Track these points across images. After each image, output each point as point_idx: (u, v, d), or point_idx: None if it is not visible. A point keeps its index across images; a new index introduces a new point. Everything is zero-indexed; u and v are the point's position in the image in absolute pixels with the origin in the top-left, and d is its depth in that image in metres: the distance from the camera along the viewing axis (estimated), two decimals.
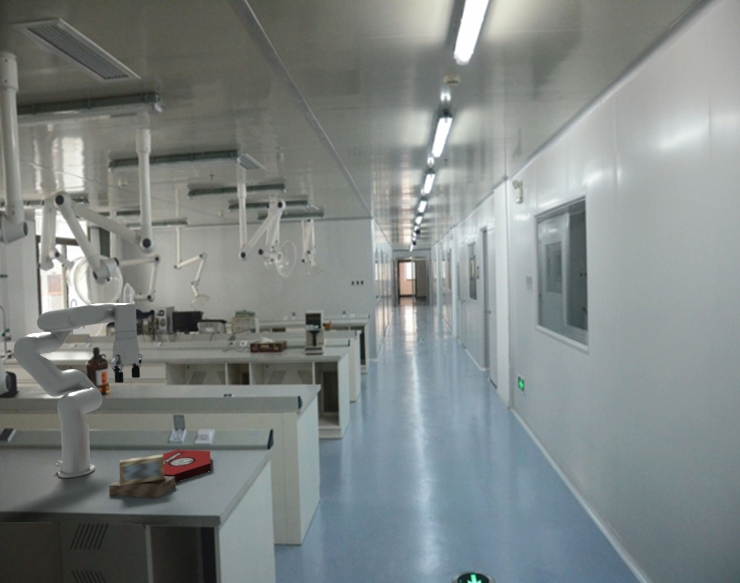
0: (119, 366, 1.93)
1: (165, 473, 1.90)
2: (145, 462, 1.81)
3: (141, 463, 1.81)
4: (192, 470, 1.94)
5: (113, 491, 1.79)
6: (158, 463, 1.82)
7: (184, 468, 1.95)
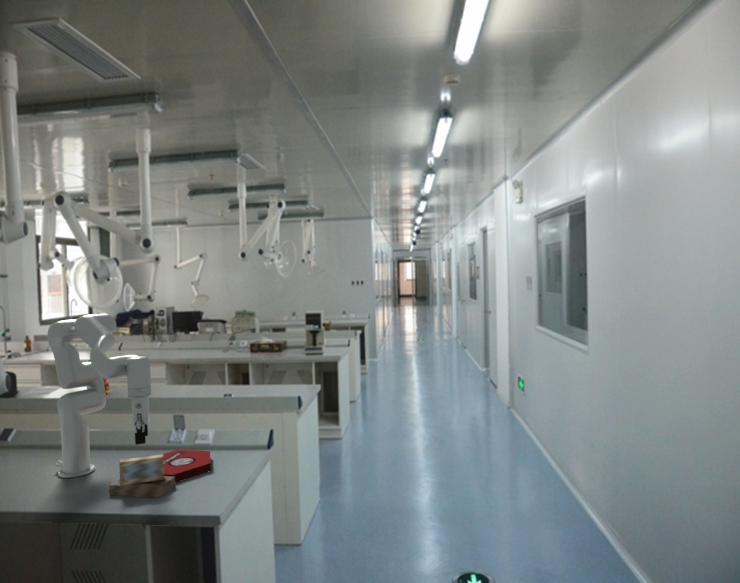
0: None
1: (165, 473, 1.90)
2: (145, 462, 1.81)
3: (141, 463, 1.81)
4: (192, 470, 1.94)
5: (113, 491, 1.79)
6: (158, 463, 1.82)
7: (184, 468, 1.95)
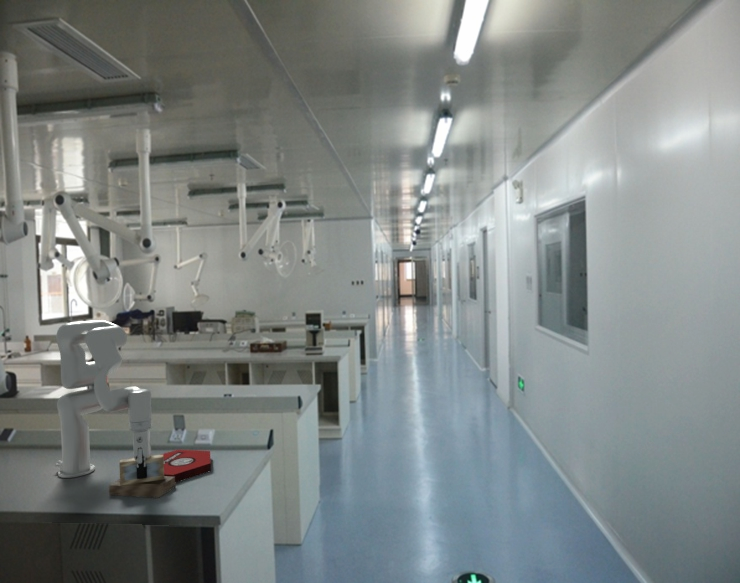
0: None
1: (165, 473, 1.90)
2: None
3: None
4: (192, 470, 1.94)
5: (113, 491, 1.79)
6: (158, 463, 1.82)
7: (184, 468, 1.95)
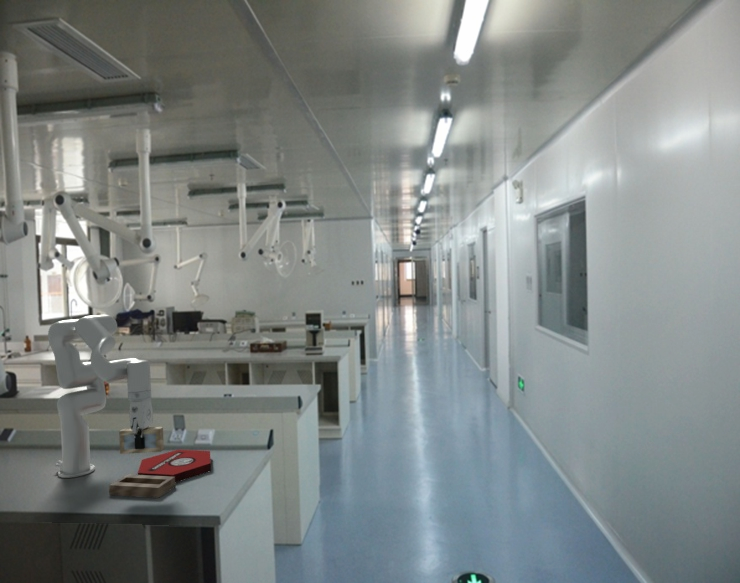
0: None
1: (165, 473, 1.90)
2: (143, 433, 1.80)
3: None
4: (192, 470, 1.94)
5: (113, 491, 1.79)
6: (155, 435, 1.81)
7: (184, 468, 1.95)
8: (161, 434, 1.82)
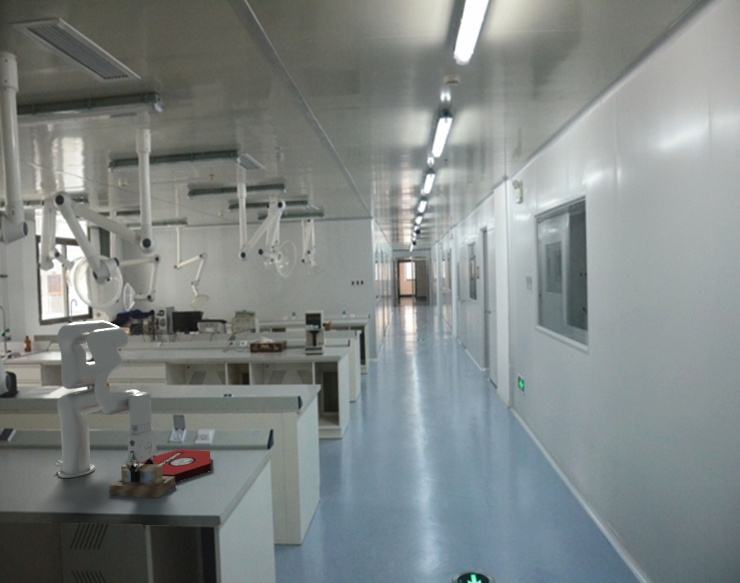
0: None
1: (165, 473, 1.90)
2: (142, 470, 1.80)
3: None
4: (192, 470, 1.94)
5: (113, 491, 1.79)
6: (153, 473, 1.80)
7: (184, 468, 1.95)
8: (159, 473, 1.80)
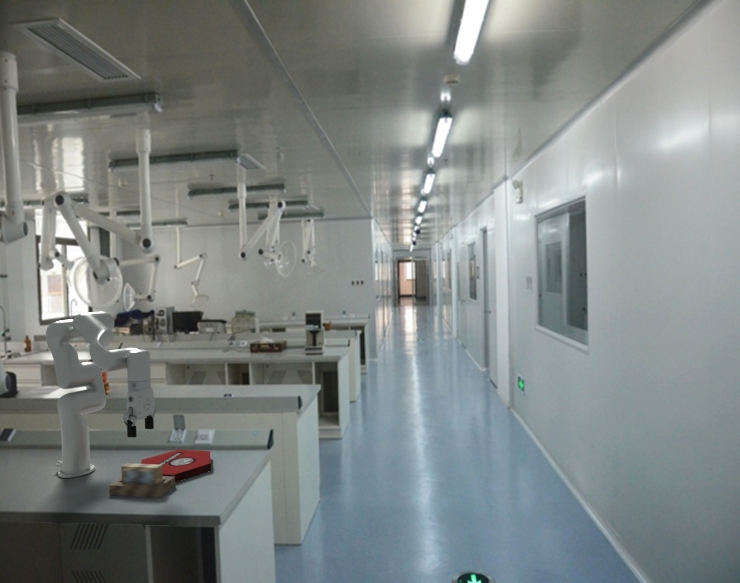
0: None
1: (165, 473, 1.90)
2: (142, 470, 1.80)
3: (139, 470, 1.81)
4: (192, 470, 1.94)
5: (113, 491, 1.79)
6: (153, 473, 1.80)
7: (184, 468, 1.95)
8: (159, 473, 1.80)
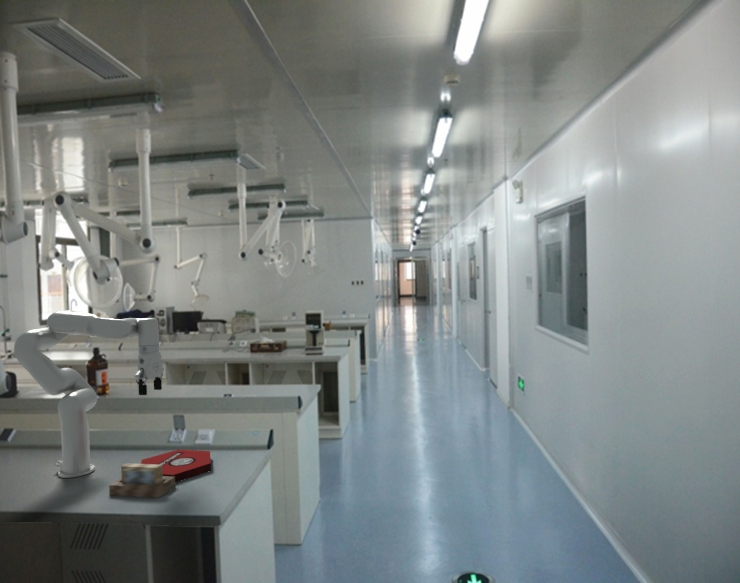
0: None
1: (165, 473, 1.90)
2: (142, 470, 1.80)
3: (139, 470, 1.81)
4: (192, 470, 1.94)
5: (113, 491, 1.79)
6: (153, 473, 1.80)
7: (184, 468, 1.95)
8: (159, 473, 1.80)
